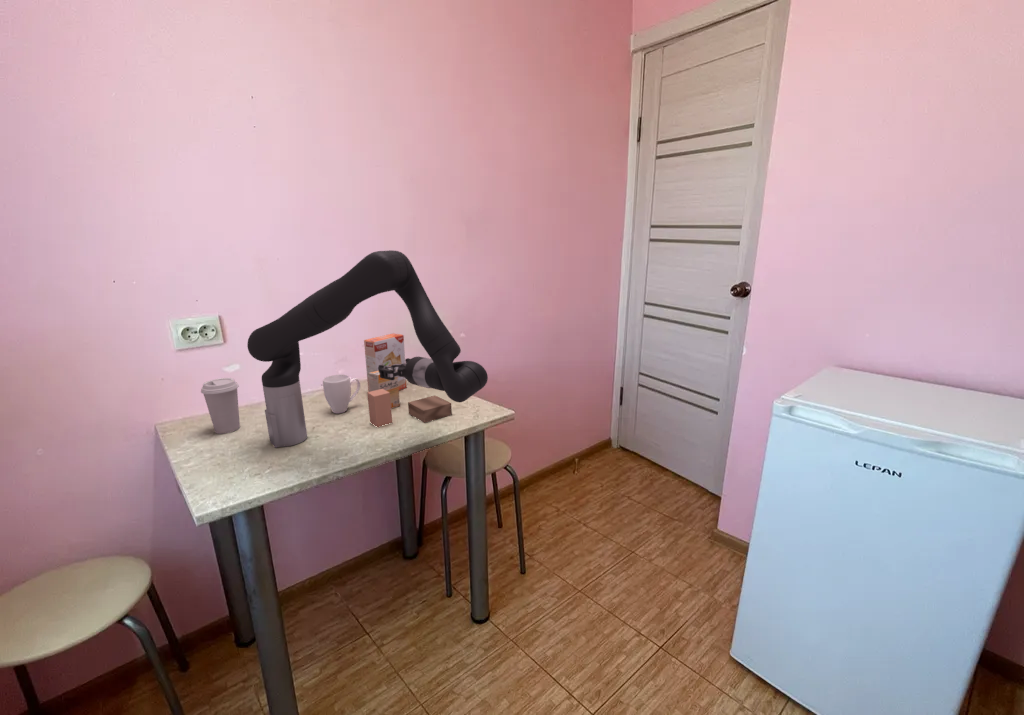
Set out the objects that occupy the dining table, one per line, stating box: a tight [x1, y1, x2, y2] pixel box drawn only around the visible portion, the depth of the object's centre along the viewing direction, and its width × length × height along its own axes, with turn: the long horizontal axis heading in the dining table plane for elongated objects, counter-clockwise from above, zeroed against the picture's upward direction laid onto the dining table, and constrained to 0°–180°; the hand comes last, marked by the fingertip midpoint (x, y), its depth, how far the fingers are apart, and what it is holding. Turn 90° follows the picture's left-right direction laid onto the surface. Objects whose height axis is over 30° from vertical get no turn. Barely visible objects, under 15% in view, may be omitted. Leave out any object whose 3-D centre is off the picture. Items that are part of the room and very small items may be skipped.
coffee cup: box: [200, 377, 241, 435], centre depth 138 cm, size 10×10×15 cm
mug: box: [322, 374, 361, 414], centre depth 153 cm, size 12×8×11 cm
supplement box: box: [369, 369, 401, 409], centre depth 154 cm, size 8×5×13 cm, turn 143°
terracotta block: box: [366, 389, 393, 428], centre depth 142 cm, size 5×5×10 cm
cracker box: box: [363, 332, 408, 392], centre depth 169 cm, size 14×6×21 cm, turn 147°
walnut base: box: [407, 394, 453, 424], centre depth 149 cm, size 10×10×4 cm
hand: (393, 365), depth 131 cm, fingers open, 8 cm apart
